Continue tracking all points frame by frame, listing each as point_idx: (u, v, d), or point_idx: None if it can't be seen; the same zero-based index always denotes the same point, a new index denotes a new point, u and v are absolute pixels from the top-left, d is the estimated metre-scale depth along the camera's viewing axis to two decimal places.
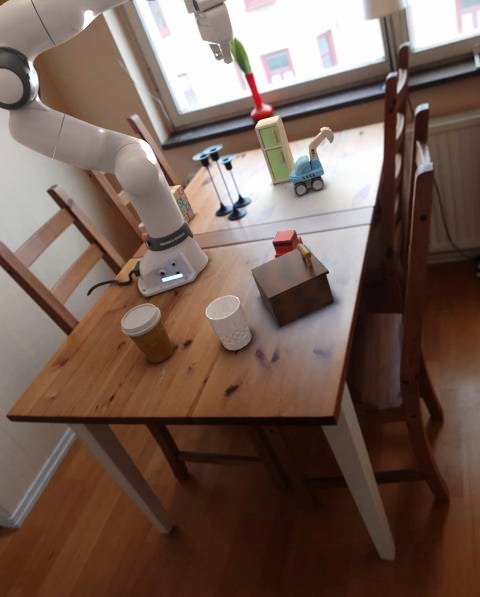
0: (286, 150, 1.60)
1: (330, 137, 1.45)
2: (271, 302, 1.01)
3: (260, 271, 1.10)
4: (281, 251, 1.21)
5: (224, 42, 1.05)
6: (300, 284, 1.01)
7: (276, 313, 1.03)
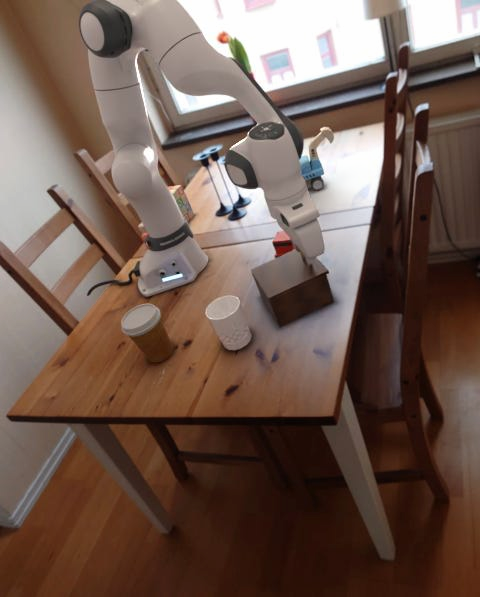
0: None
1: (330, 137, 1.45)
2: (271, 302, 1.01)
3: (260, 271, 1.10)
4: (281, 251, 1.21)
5: (314, 257, 0.95)
6: (300, 284, 1.01)
7: (276, 313, 1.03)
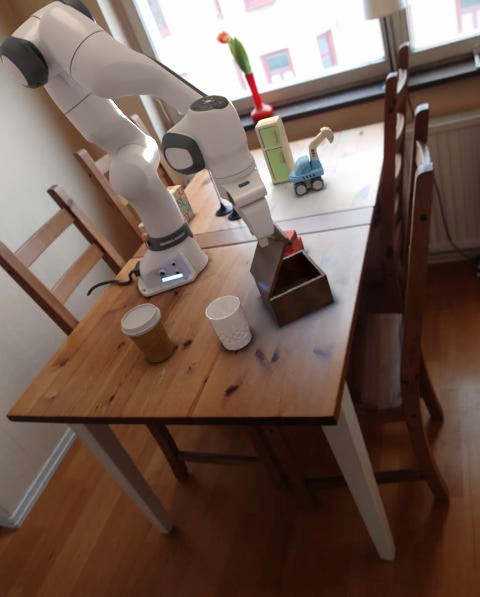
0: (286, 150, 1.60)
1: (330, 137, 1.45)
2: (271, 302, 1.01)
3: (254, 268, 1.09)
4: None
5: (263, 238, 0.90)
6: (277, 268, 0.98)
7: (276, 313, 1.03)
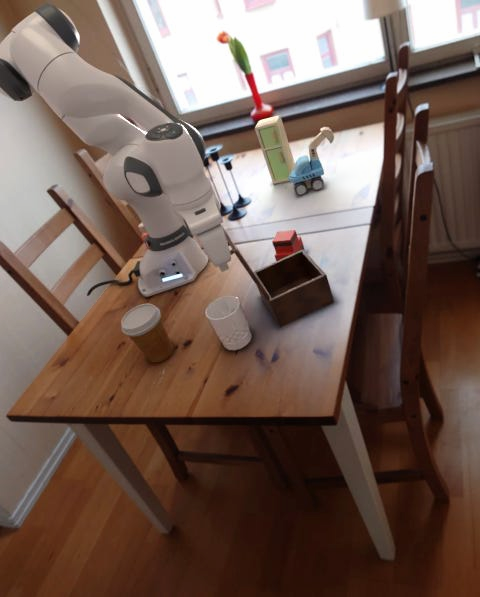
0: (286, 150, 1.60)
1: (330, 137, 1.45)
2: (271, 302, 1.01)
3: None
4: (281, 251, 1.21)
5: (220, 264, 0.90)
6: (251, 275, 0.97)
7: (276, 313, 1.03)
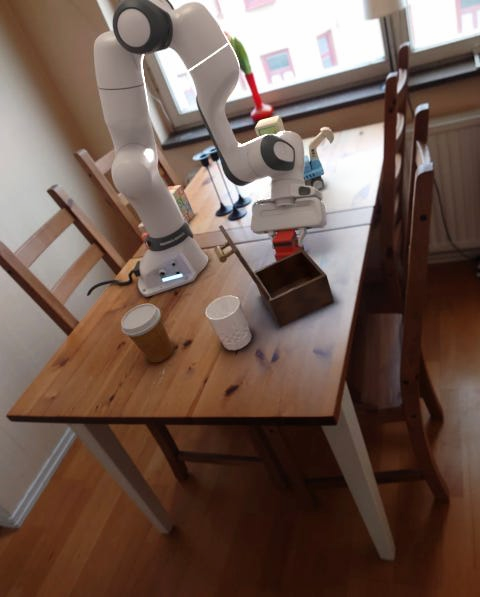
0: None
1: (330, 137, 1.45)
2: (271, 302, 1.01)
3: None
4: (281, 251, 1.21)
5: (322, 224, 1.18)
6: (251, 275, 0.97)
7: (276, 313, 1.03)
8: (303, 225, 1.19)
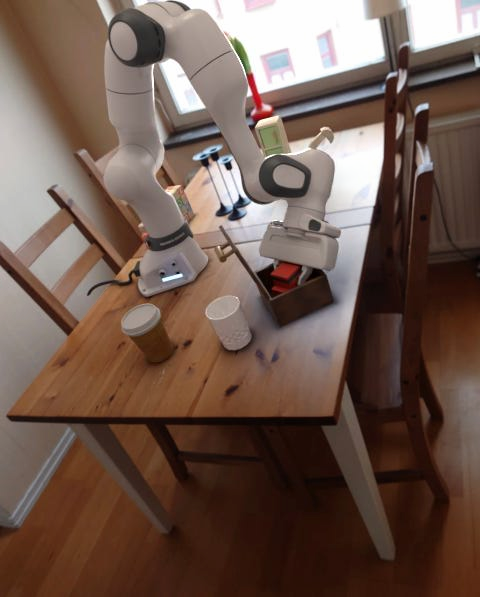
0: (286, 150, 1.60)
1: (330, 137, 1.45)
2: (271, 302, 1.01)
3: None
4: (279, 286, 1.07)
5: (326, 268, 1.00)
6: (251, 275, 0.97)
7: (276, 313, 1.03)
8: (306, 264, 1.03)
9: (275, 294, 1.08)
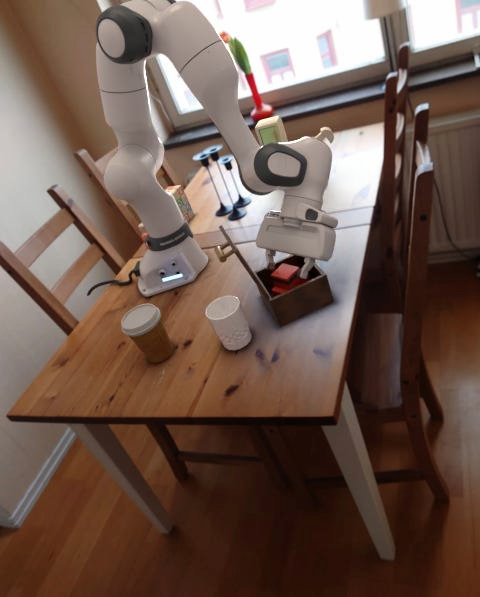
0: None
1: (330, 137, 1.45)
2: (271, 302, 1.01)
3: None
4: (279, 287, 1.08)
5: (323, 258, 0.99)
6: (251, 275, 0.97)
7: (276, 313, 1.03)
8: (303, 254, 1.01)
9: (275, 295, 1.09)
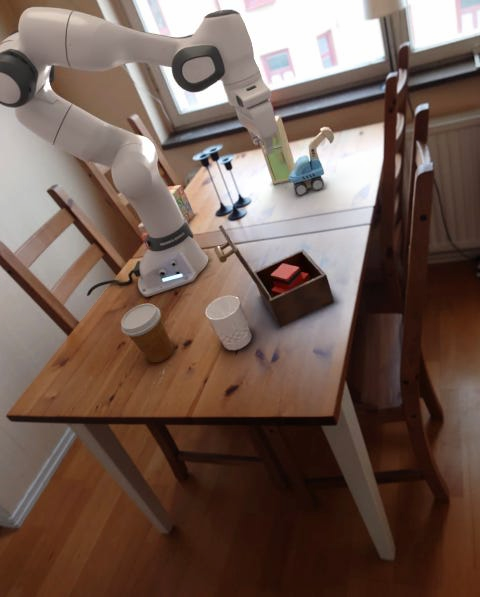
0: (286, 150, 1.60)
1: (330, 137, 1.45)
2: (271, 302, 1.01)
3: None
4: (279, 287, 1.08)
5: (268, 138, 1.02)
6: (251, 275, 0.97)
7: (276, 313, 1.03)
8: (257, 135, 1.06)
9: (275, 295, 1.09)
